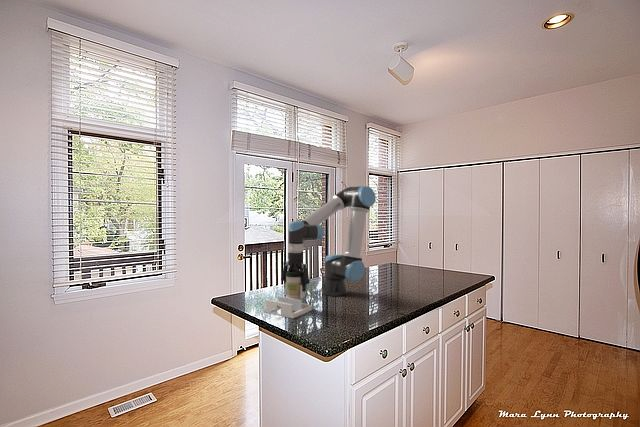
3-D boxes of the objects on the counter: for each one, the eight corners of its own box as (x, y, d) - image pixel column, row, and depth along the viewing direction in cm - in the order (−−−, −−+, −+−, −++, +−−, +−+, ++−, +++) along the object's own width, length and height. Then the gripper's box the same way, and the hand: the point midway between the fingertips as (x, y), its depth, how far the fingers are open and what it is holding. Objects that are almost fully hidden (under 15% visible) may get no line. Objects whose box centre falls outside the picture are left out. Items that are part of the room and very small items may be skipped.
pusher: (279, 307, 173) (279, 295, 173) (301, 311, 166) (302, 300, 165) (259, 314, 160) (259, 302, 160) (283, 320, 153) (283, 307, 153)
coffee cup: (282, 299, 175) (283, 270, 175) (301, 297, 179) (301, 269, 178) (287, 304, 166) (288, 273, 166) (306, 302, 169) (307, 272, 169)
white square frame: (285, 303, 180) (285, 292, 180) (313, 309, 171) (313, 297, 171) (264, 311, 166) (264, 299, 165) (293, 318, 156) (293, 305, 156)
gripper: (274, 250, 174) (273, 294, 175) (309, 254, 163) (308, 301, 163) (283, 249, 181) (282, 291, 181) (317, 252, 169) (316, 298, 170)
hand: (294, 296), depth 172 cm, fingers closed on coffee cup, 9 cm apart
